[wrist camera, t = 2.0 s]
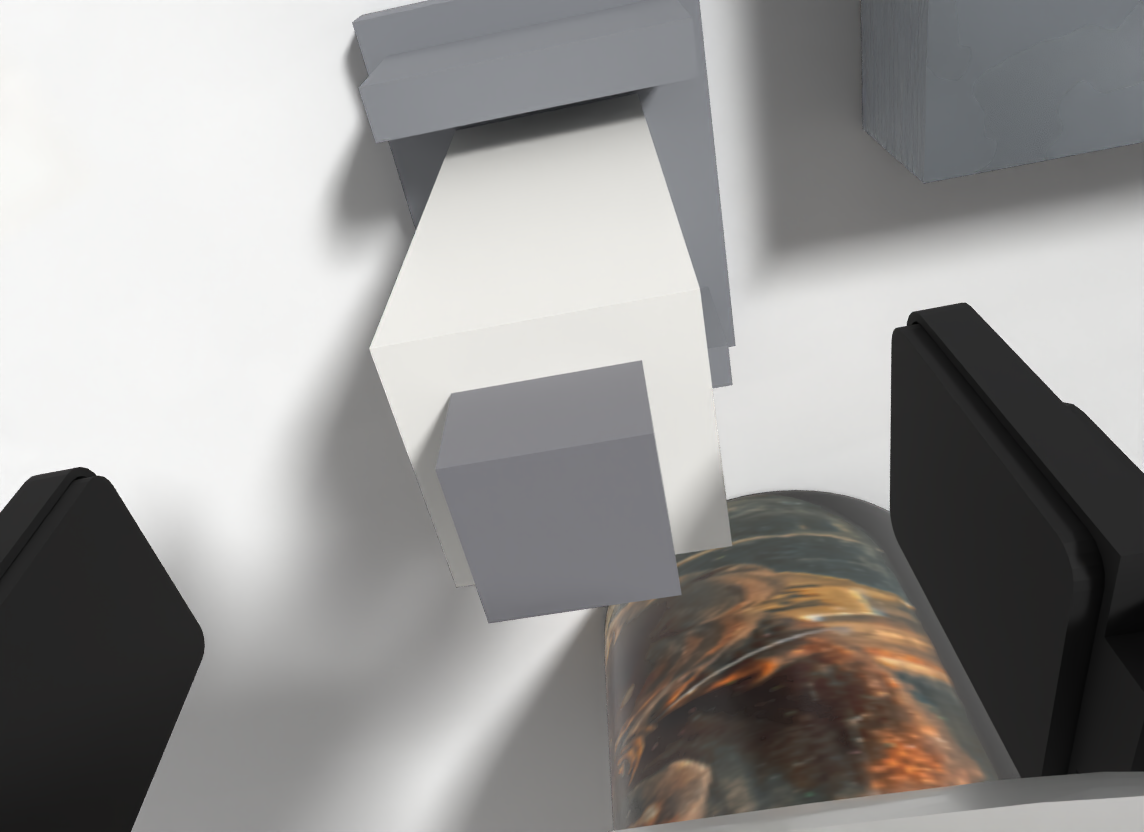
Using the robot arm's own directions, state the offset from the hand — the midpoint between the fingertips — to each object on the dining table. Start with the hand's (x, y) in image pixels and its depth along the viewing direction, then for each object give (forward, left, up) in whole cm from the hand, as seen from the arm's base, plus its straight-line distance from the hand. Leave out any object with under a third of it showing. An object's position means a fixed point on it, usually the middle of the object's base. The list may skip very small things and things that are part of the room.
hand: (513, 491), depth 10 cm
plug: (0, -1, -11) cm, 11 cm away
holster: (0, -1, -12) cm, 12 cm away
